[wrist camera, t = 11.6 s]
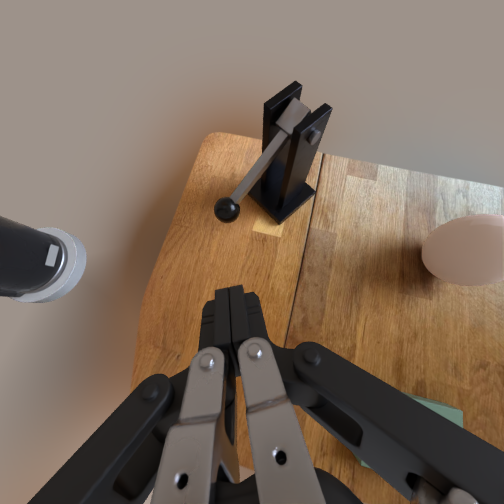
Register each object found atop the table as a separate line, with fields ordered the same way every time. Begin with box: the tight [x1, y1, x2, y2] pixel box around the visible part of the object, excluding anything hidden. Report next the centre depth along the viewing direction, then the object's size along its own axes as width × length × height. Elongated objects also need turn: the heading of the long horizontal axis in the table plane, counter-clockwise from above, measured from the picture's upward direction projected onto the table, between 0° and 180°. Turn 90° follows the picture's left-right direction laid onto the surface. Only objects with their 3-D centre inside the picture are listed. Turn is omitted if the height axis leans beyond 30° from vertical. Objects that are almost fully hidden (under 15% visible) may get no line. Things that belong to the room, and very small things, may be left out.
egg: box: [422, 214, 504, 286], centre depth 26 cm, size 9×9×11 cm
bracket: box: [247, 81, 332, 225], centre depth 28 cm, size 8×8×16 cm
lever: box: [214, 97, 311, 223], centre depth 24 cm, size 15×3×3 cm
